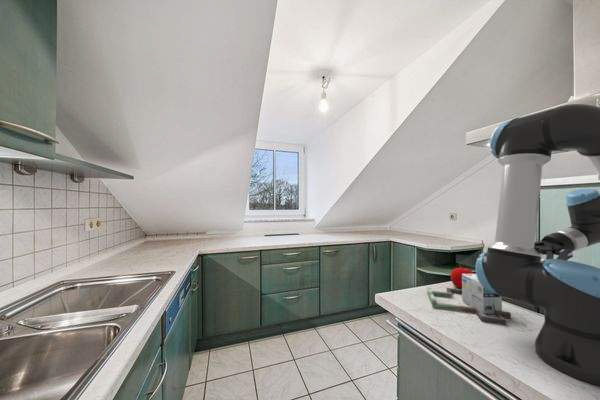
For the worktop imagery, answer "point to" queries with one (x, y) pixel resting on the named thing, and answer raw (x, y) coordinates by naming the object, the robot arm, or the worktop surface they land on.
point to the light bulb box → (479, 295)
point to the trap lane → (465, 307)
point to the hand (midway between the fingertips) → (506, 262)
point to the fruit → (459, 276)
